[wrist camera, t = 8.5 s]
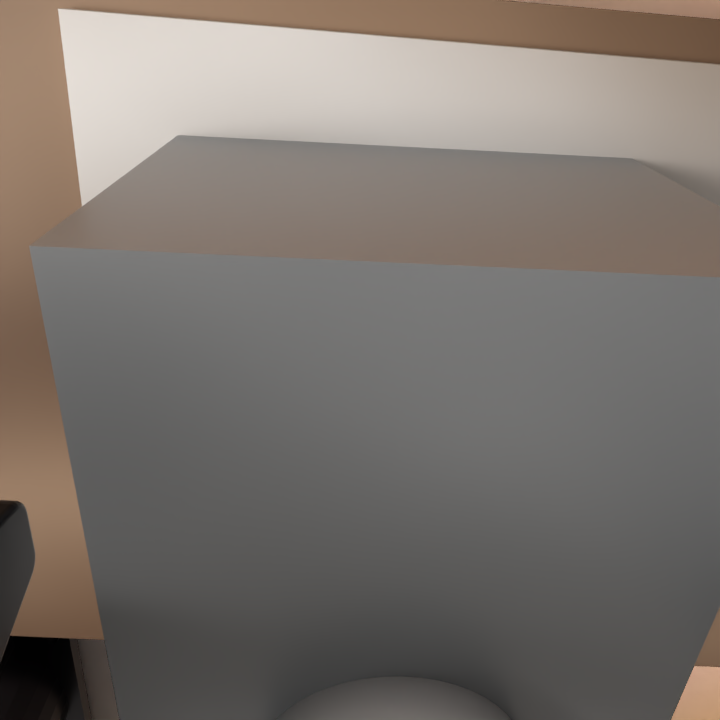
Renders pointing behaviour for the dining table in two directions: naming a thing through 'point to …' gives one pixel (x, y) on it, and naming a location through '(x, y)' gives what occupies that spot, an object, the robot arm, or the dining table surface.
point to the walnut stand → (295, 123)
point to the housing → (392, 430)
